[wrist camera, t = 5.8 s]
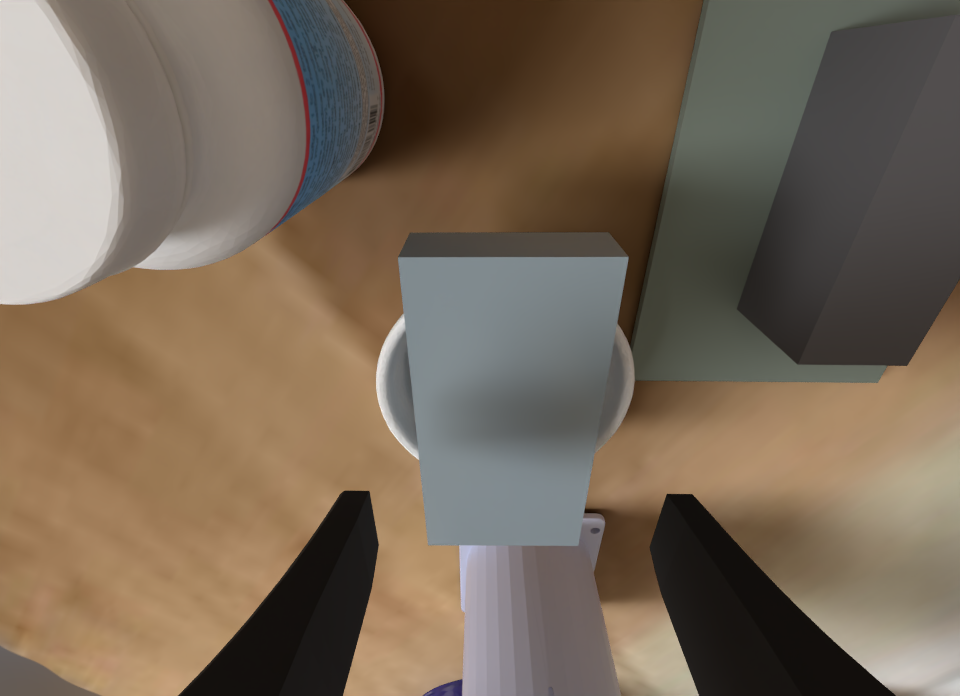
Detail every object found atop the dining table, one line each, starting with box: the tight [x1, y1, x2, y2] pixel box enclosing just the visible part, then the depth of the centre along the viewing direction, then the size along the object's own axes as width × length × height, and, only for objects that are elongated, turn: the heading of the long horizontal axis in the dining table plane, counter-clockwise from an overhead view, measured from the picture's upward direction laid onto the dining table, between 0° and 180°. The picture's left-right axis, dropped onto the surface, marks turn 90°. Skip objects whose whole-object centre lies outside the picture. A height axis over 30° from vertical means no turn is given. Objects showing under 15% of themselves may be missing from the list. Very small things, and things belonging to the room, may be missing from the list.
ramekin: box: [376, 314, 635, 459], centre depth 17 cm, size 9×9×4 cm
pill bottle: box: [0, 0, 384, 304], centre depth 9 cm, size 6×6×11 cm
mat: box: [630, 0, 960, 383], centre depth 15 cm, size 16×11×1 cm
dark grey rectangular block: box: [737, 15, 960, 366], centre depth 14 cm, size 9×4×4 cm, turn 0°
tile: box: [398, 232, 629, 546], centre depth 14 cm, size 11×6×2 cm, turn 0°
